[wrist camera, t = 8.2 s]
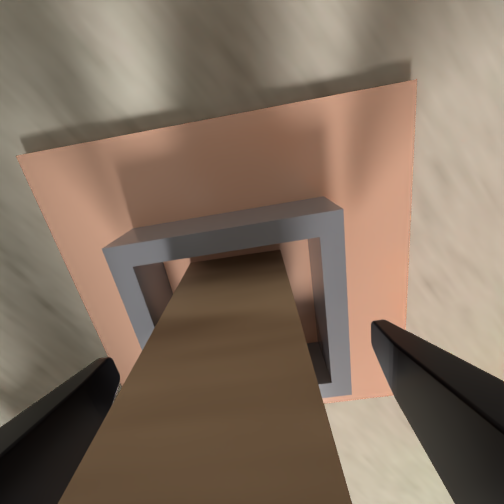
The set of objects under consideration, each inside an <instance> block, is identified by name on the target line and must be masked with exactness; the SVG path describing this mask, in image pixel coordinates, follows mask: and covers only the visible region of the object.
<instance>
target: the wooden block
mask: <svg viewBox="0 0 504 504" xmlns="http://www.w3.org/2000/svg"><path fill="white" fill-rule="evenodd" d="M58 504H352V502H351V499H350V495H349V491H348V488H347V484H346V481H345V477H344V474H343V470H342V467H341V463H340V460H339V456H338V452H337V449H336V445H335V442H334V438H333V435H332V431H331V428H330V424H329V420H328V417H327V413H326V410H325V406H324V403H323V399H322V396H321V392H320V389H319V385H318V381H317V378H316V374H315V371H314V367H313V364H312V360H311V357H310V353H309V350H308V346H307V342H306V339H305V335H304V332H303V328H302V325H301V321H300V318H299V314H298V310H297V307H296V303H295V300H294V296H293V293H292V289H291V286H290V282H289V279H288V275H287V271H286V268H285V264H284V261H283V257H282V254H281V250H274V251H267V252H260V253H253V254H246V255H240V256H233V257H226V258H219V259H212V260H206V261H199V262H192V263H190V265H189V266H188V268H187V270H186V272H185V274H184V275H183V277H182V279H181V281H180V283H179V285H178V286H177V288H176V290H175V292H174V294H173V295H172V297H171V299H170V301H169V303H168V304H167V306H166V308H165V310H164V312H163V314H162V315H161V317H160V319H159V321H158V323H157V324H156V326H155V328H154V330H153V332H152V334H151V335H150V337H149V339H148V341H147V343H146V344H145V346H144V348H143V350H142V352H141V354H140V355H139V357H138V359H137V361H136V363H135V364H134V366H133V368H132V370H131V372H130V373H129V375H128V377H127V379H126V381H125V383H124V384H123V386H122V388H121V390H120V392H119V393H118V395H117V397H116V399H115V401H114V403H113V404H112V406H111V408H110V410H109V412H108V413H107V415H106V417H105V419H104V421H103V422H102V424H101V426H100V428H99V430H98V432H97V433H96V435H95V437H94V439H93V441H92V442H91V444H90V446H89V448H88V450H87V452H86V453H85V455H84V457H83V459H82V461H81V462H80V464H79V466H78V468H77V470H76V471H75V473H74V475H73V477H72V479H71V481H70V482H69V484H68V486H67V488H66V490H65V491H64V493H63V495H62V497H61V499H60V501H59V502H58Z"/></svg>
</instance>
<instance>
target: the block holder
mask: <svg viewBox="0 0 504 504" xmlns="http://www.w3.org/2000/svg"><path fill="white" fill-rule="evenodd" d="M416 93H417V79H416V80H410V81H405V82H400V83H395V84H389V85H384V86H379V87H374V88H368V89H363V90H358V91H353V92H347V93H342V94H337V95H332V96H326V97H321V98H316V99H311V100H305V101H300V102H295V103H290V104H284V105H279V106H274V107H269V108H263V109H258V110H253V111H248V112H243V113H237V114H232V115H227V116H222V117H216V118H211V119H206V120H201V121H195V122H190V123H185V124H180V125H174V126H169V127H164V128H159V129H153V130H148V131H143V132H138V133H132V134H127V135H122V136H117V137H111V138H106V139H101V140H96V141H90V142H85V143H80V144H75V145H69V146H64V147H59V148H54V149H49V150H43V151H38V152H33V153H28V154H22V155H17V156H16V158H17V160H18V162H19V164H20V166H21V168H22V171H23V173H24V175H25V177H26V179H27V181H28V184H29V186H30V188H31V190H32V192H33V194H34V197H35V199H36V201H37V203H38V205H39V207H40V210H41V212H42V214H43V216H44V218H45V221H46V223H47V225H48V227H49V229H50V231H51V234H52V236H53V238H54V240H55V242H56V244H57V247H58V249H59V251H60V253H61V255H62V257H63V260H64V262H65V264H66V266H67V268H68V271H69V273H70V275H71V277H72V279H73V281H74V284H75V286H76V288H77V290H78V292H79V294H80V297H81V299H82V301H83V303H84V305H85V307H86V310H87V312H88V314H89V316H90V318H91V321H92V323H93V325H94V327H95V329H96V331H97V334H98V336H99V338H100V340H101V342H102V344H103V347H104V349H105V351H106V353H107V355H108V357H111V358H112V359H113V360H114V363H115V365H116V367H117V369H118V371H119V374H120V384H121V386H123V384H124V383H125V381H126V379H127V377H128V375H129V373H130V372H131V370H132V368H133V366H134V364H135V363H136V361H137V359H138V357H139V355H140V354H141V352H142V350H143V348H144V346H145V344H146V343H147V341H148V339H149V337H150V335H151V334H152V332H153V330H154V328H155V326H156V324H157V323H158V321H159V319H160V317H161V315H162V314H163V312H164V310H165V308H166V306H167V304H168V303H169V301H170V299H171V297H172V295H173V294H174V292H175V290H176V288H177V286H178V285H179V283H180V281H181V279H182V277H183V275H184V274H185V272H186V270H187V268H188V266H189V265H190V263H192V262H199V261H206V260H212V259H219V258H226V257H233V256H240V255H246V254H253V253H260V252H267V251H274V250H281V254H282V257H283V261H284V264H285V268H286V271H287V275H288V279H289V282H290V286H291V289H292V293H293V296H294V300H295V303H296V307H297V310H298V314H299V318H300V321H301V325H302V328H303V332H304V335H305V339H306V342H307V346H308V350H309V353H310V357H311V360H312V364H313V367H314V371H315V374H316V378H317V381H318V385H319V389H320V392H321V396H322V399H323V403H333V402H341V401H349V400H358V399H366V398H374V397H383V396H391V395H393V393H392V391H391V389H390V387H389V384H388V382H387V380H386V378H385V375H384V373H383V371H382V368H381V366H380V364H379V361H378V359H377V357H376V355H375V352H374V350H373V348H372V344H371V322H372V321H375V320H382V319H384V320H387V321H389V322H391V323H393V324H395V325H397V326H398V327H400V328H402V329H404V330H405V329H406V308H407V286H408V265H409V244H410V222H411V201H412V179H413V158H414V136H415V115H416Z"/></svg>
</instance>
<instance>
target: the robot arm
mask: <svg viewBox="0 0 504 504" xmlns="http://www.w3.org/2000/svg"><path fill="white" fill-rule="evenodd" d="M371 344H372V348H373V350H374V352H375V355H376V357H377V359H378V361H379V364H380V366H381V368H382V371H383V373H384V375H385V378H386V380H387V382H388V384H389V387H390V389H391V391H392V393H393V395H394V397H395V399H396V400H397V402H398V404H399V406H400V408H401V409H402V411H403V413H404V415H405V416H406V418H407V420H408V422H409V423H410V425H411V427H412V429H413V430H414V432H415V434H416V436H417V438H418V439H419V441H420V443H421V445H422V446H423V448H424V450H425V452H426V453H427V455H428V457H429V459H430V460H431V462H432V464H433V466H434V467H435V469H436V471H437V473H438V475H439V476H440V478H441V480H442V482H443V483H444V485H445V487H446V489H447V490H448V492H449V494H450V496H451V497H452V499H453V501H454V503H455V504H504V381H503V380H501V379H499V378H497V377H495V376H493V375H491V374H489V373H487V372H485V371H483V370H481V369H479V368H477V367H476V366H474V365H472V364H470V363H468V362H466V361H464V360H462V359H460V358H458V357H456V356H454V355H452V354H451V353H449V352H447V351H445V350H443V349H441V348H439V347H437V346H435V345H433V344H431V343H429V342H427V341H425V340H424V339H422V338H420V337H418V336H416V335H414V334H412V333H410V332H408V331H406V330H404V329H402V328H400V327H398V326H397V325H395V324H393V323H391V322H389V321H387V320H384V319H382V320H375V321H372V322H371ZM119 382H120V374H119V371H118V369H117V367H116V365H115V363H114V360H113V359H112V358H111V357H105V358H99V359H97V360H96V361H94V362H93V363H91V364H90V365H88V366H87V367H86V368H84V369H83V370H81V371H80V372H78V373H77V374H76V375H74V376H73V377H71V378H70V379H69V380H67V381H66V382H64V383H63V384H61V385H60V386H59V387H57V388H56V389H54V390H53V391H51V392H50V393H49V394H47V395H46V396H44V397H43V398H41V399H40V400H39V401H37V402H36V403H34V404H33V405H32V406H30V407H29V408H27V409H26V410H24V411H23V412H22V413H20V414H19V415H17V416H16V417H14V418H13V419H12V420H10V421H9V422H7V423H6V424H4V425H3V426H2V427H0V504H58V502H59V501H60V499H61V497H62V495H63V493H64V491H65V490H66V488H67V486H68V484H69V482H70V481H71V479H72V477H73V475H74V473H75V471H76V470H77V468H78V466H79V464H80V462H81V461H82V459H83V457H84V455H85V453H86V452H87V450H88V448H89V446H90V444H91V442H92V441H93V439H94V437H95V435H96V433H97V432H98V430H99V428H100V426H101V424H102V422H103V421H104V419H105V417H106V415H107V413H108V412H109V410H110V408H111V406H112V404H113V401H114V398H115V395H116V392H117V389H118V386H119Z"/></svg>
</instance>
